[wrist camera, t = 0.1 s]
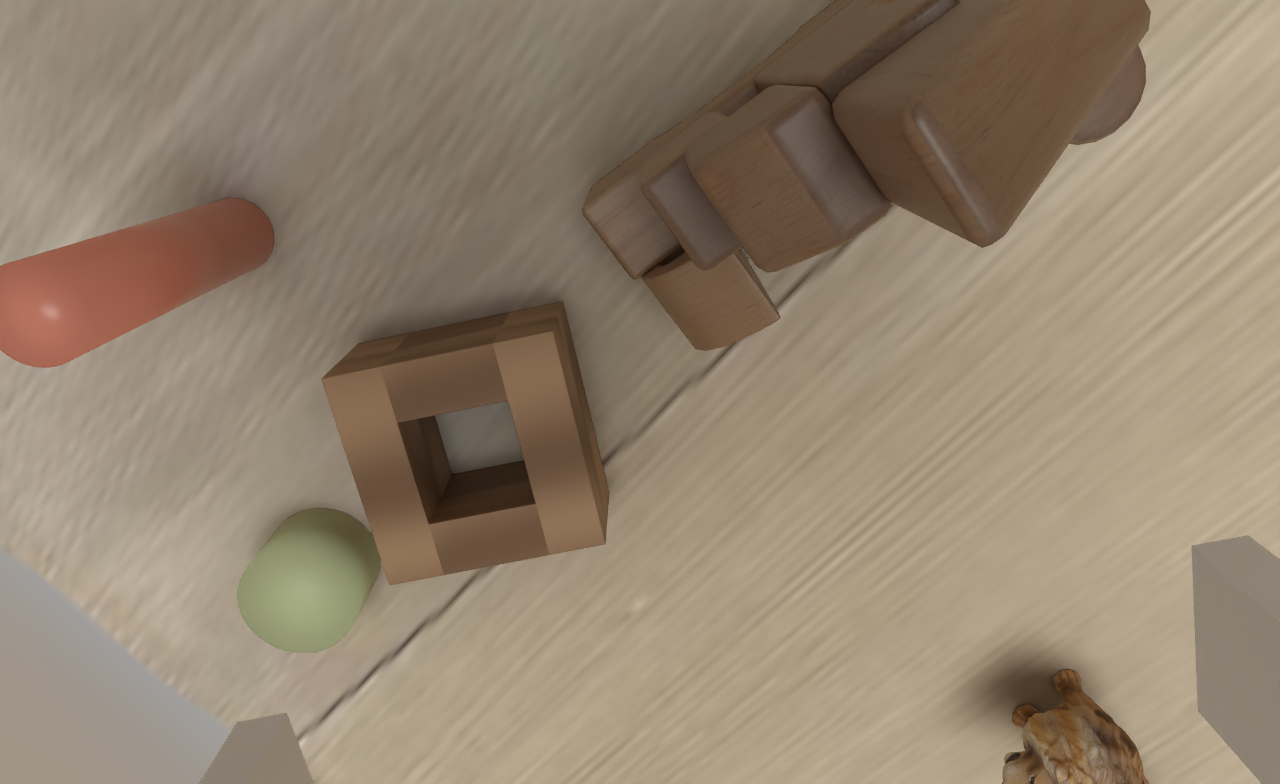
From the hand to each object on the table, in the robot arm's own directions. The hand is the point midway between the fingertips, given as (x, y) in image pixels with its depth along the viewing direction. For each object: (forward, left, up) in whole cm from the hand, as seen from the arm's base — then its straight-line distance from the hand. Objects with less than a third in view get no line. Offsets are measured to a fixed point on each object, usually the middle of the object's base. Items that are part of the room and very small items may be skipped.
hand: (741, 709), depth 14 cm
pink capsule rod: (-6, -17, -28) cm, 33 cm away
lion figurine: (+26, +14, -28) cm, 41 cm away
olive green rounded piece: (+9, -18, -28) cm, 35 cm away
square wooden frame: (+4, -9, -28) cm, 30 cm away
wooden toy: (-5, +6, -28) cm, 29 cm away
